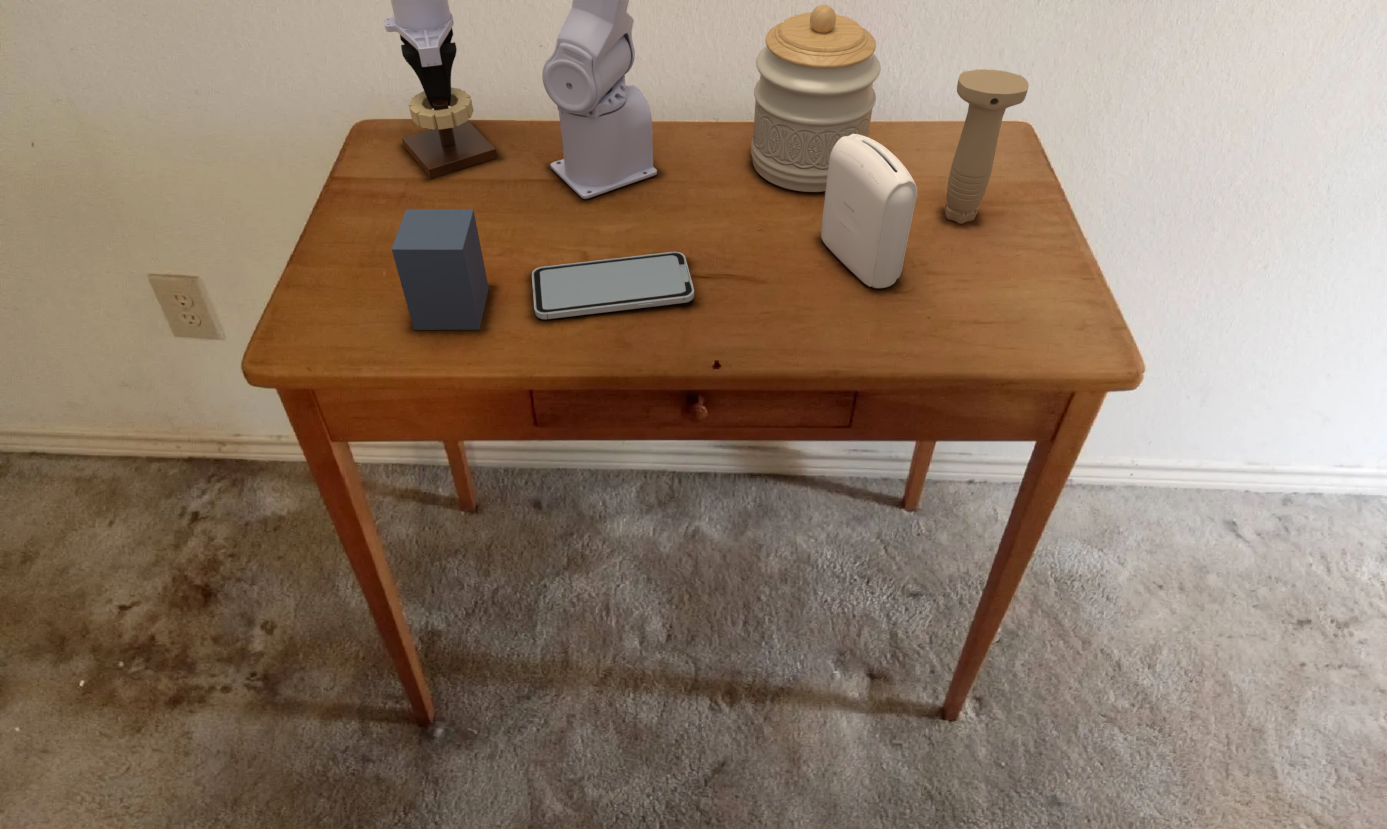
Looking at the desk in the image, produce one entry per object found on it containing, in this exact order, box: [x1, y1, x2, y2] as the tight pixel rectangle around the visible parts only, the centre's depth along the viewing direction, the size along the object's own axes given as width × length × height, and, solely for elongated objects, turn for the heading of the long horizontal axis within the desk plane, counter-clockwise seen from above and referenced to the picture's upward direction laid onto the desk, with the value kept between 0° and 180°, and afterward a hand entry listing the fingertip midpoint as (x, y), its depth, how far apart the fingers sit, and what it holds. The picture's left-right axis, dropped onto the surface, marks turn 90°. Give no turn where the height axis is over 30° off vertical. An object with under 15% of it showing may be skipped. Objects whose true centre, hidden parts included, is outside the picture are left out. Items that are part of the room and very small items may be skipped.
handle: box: [944, 68, 1030, 225], centre depth 92 cm, size 5×6×15 cm
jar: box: [750, 4, 882, 193], centre depth 98 cm, size 13×13×18 cm
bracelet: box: [408, 86, 474, 130], centre depth 102 cm, size 7×7×2 cm
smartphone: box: [531, 251, 695, 320], centre depth 88 cm, size 7×1×15 cm
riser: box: [391, 208, 490, 331], centre depth 83 cm, size 6×6×9 cm
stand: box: [401, 99, 498, 179], centre depth 103 cm, size 8×8×6 cm
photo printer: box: [820, 134, 918, 289], centre depth 87 cm, size 10×4×12 cm, turn 26°
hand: (440, 99), depth 103 cm, fingers closed on bracelet, 2 cm apart
